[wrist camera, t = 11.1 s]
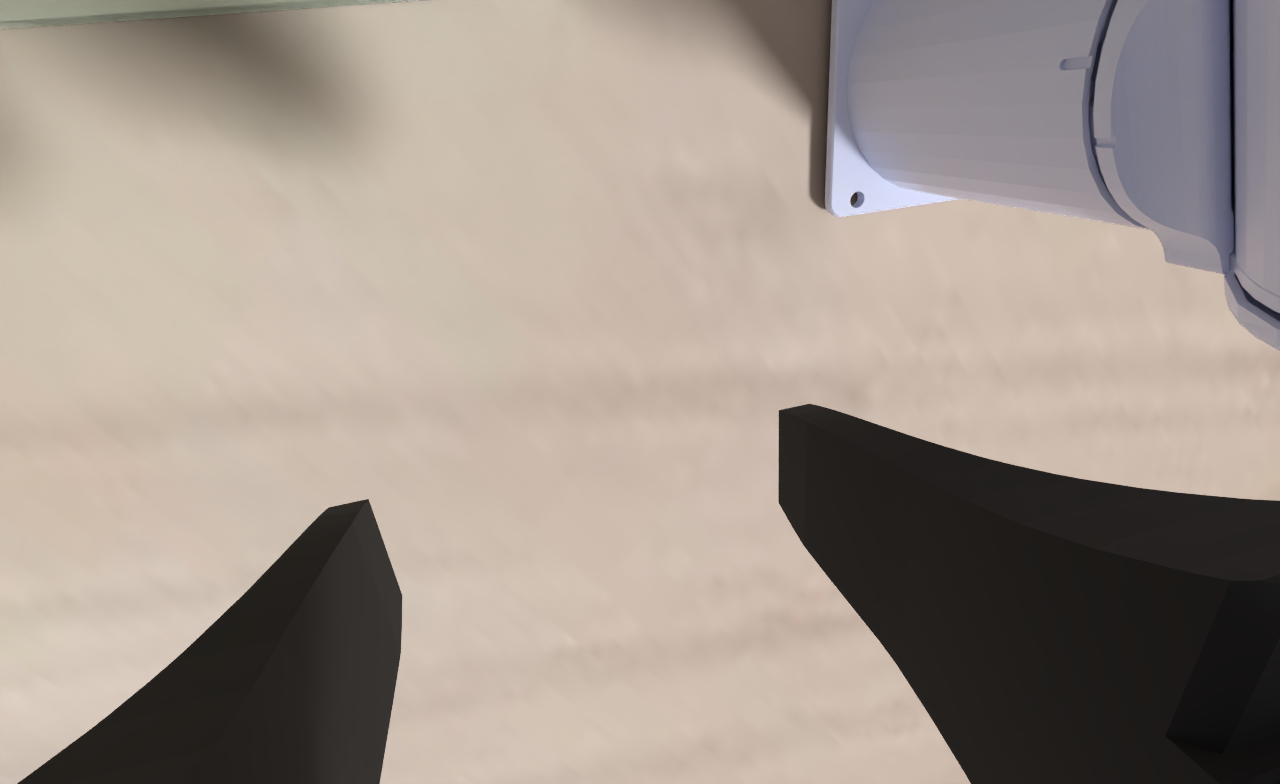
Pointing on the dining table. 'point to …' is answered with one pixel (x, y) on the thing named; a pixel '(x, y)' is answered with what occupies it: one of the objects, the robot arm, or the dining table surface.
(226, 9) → the bin
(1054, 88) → the robot arm
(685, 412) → the dining table surface
